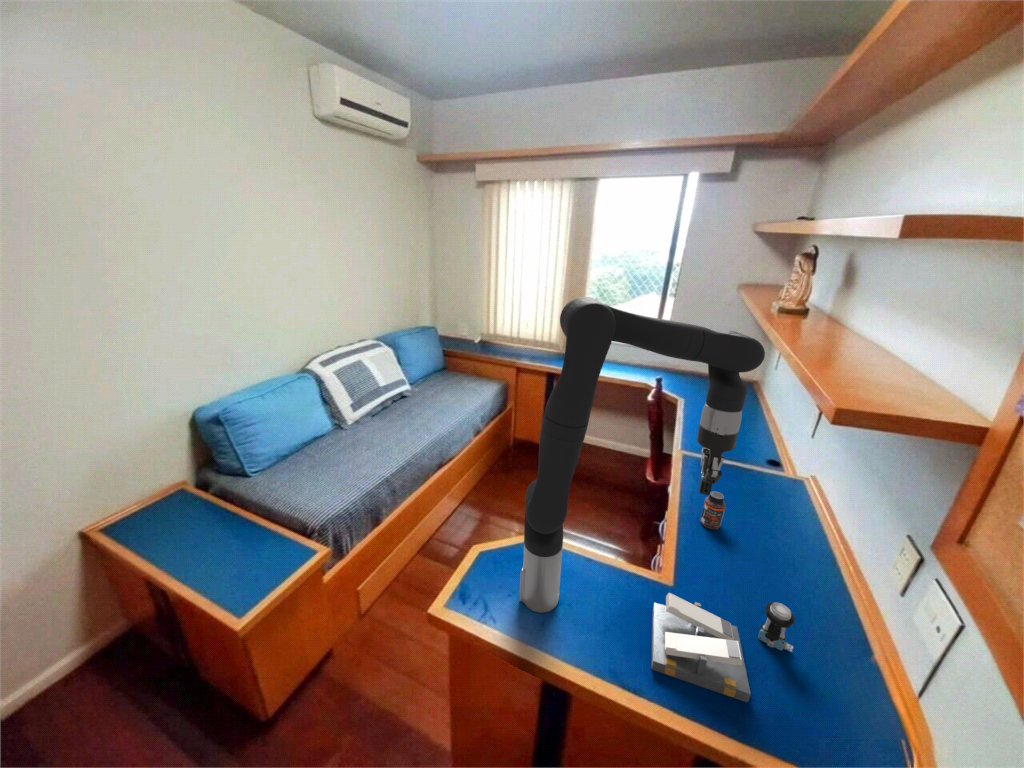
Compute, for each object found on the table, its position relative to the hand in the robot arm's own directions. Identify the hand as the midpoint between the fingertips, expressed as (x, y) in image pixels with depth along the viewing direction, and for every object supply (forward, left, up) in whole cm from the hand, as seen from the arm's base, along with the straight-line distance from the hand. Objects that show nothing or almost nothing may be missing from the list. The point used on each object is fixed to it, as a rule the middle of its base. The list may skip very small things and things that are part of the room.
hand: (704, 492), depth 89 cm
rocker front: (+2, -19, -25) cm, 31 cm away
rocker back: (+2, -12, -25) cm, 28 cm away
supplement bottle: (+10, +32, -31) cm, 46 cm away
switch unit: (+2, -15, -31) cm, 35 cm away
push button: (+19, -7, -31) cm, 37 cm away
